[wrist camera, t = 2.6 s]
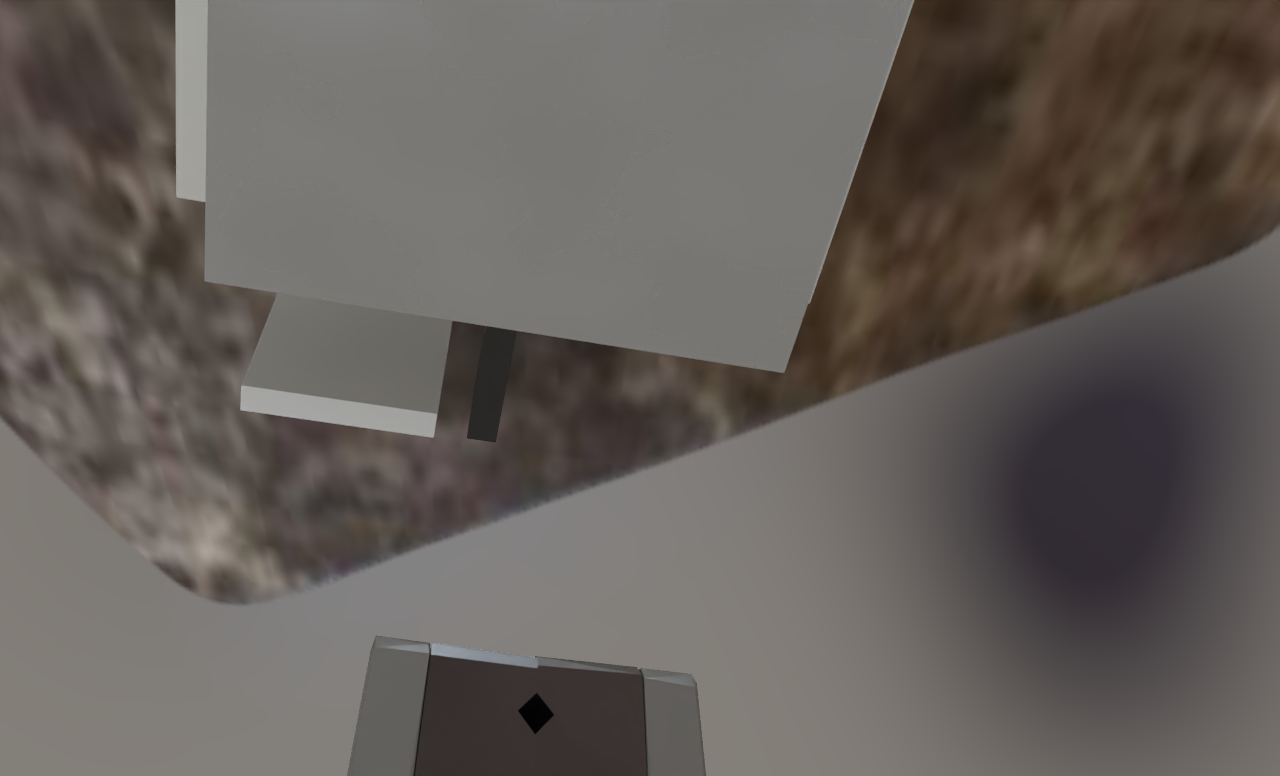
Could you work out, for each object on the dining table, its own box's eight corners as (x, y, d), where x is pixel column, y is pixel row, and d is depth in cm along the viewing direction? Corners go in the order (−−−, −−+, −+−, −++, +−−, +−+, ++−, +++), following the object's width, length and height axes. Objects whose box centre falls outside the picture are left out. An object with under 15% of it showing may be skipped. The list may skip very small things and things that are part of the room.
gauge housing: (1043, -414, 29) (1195, -390, 22) (790, 329, 42) (835, 503, 34) (185, -646, 26) (33, -708, 19) (185, 230, 39) (91, 397, 31)
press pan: (931, -276, 27) (995, -240, 22) (715, 416, 37) (731, 526, 33) (274, -440, 24) (212, -431, 20) (246, 345, 35) (202, 454, 31)
